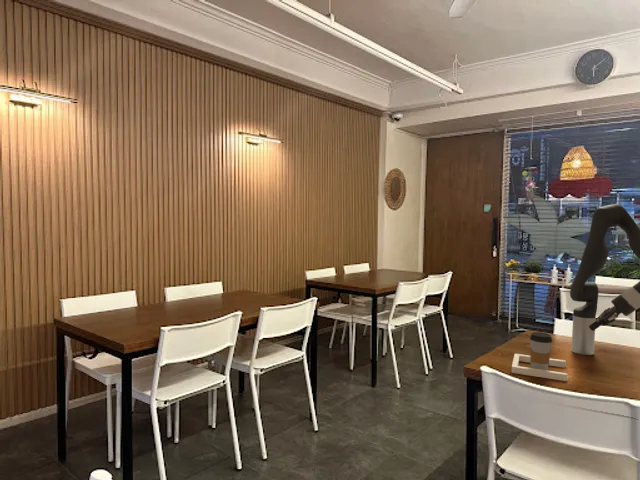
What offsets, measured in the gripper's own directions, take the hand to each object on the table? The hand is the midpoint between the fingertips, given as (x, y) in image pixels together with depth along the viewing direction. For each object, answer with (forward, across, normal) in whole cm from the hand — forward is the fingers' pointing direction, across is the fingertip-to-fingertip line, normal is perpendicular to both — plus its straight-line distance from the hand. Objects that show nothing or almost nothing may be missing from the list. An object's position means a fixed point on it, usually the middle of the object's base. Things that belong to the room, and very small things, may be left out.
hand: (590, 328), depth 183 cm
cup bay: (+27, 0, 0) cm, 27 cm away
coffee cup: (+26, +1, +1) cm, 26 cm away
